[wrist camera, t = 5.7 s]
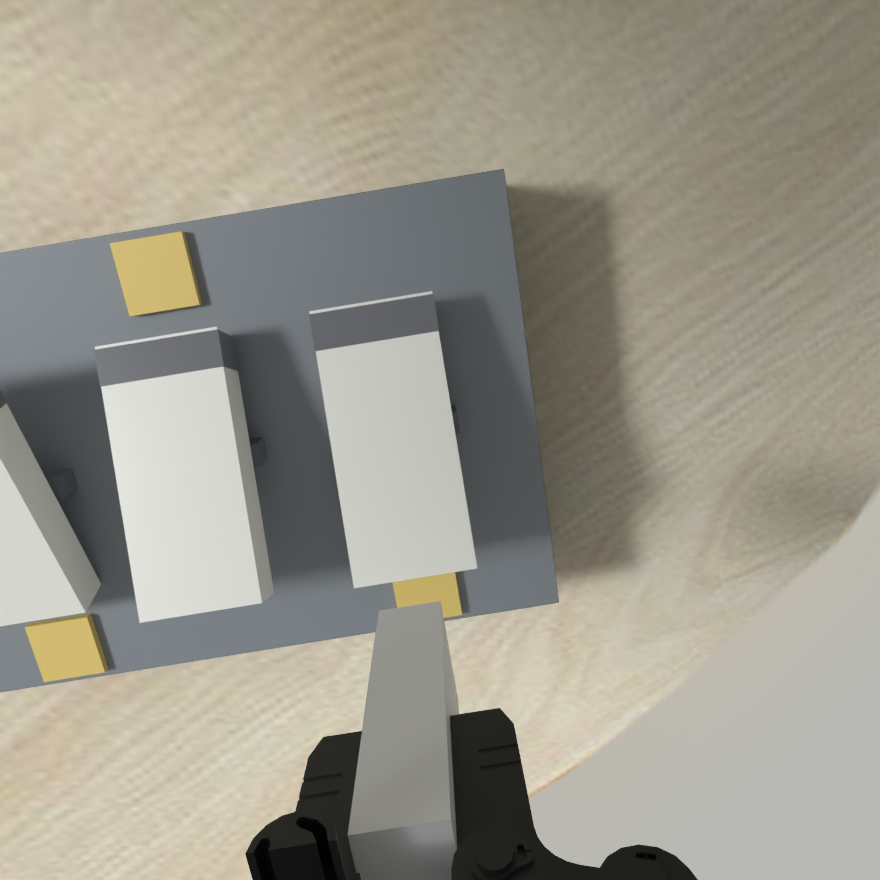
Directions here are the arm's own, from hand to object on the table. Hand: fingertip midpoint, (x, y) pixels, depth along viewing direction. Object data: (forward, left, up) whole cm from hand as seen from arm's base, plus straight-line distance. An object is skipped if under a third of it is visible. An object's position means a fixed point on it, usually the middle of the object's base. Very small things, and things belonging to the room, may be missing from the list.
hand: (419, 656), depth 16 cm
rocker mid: (-7, +4, -7) cm, 11 cm away
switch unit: (-7, +4, -13) cm, 15 cm away
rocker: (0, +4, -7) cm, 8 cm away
